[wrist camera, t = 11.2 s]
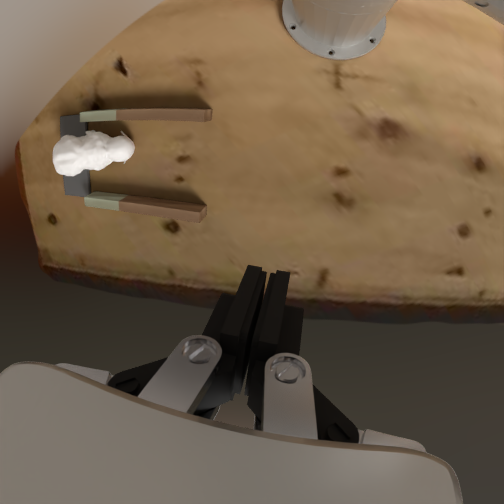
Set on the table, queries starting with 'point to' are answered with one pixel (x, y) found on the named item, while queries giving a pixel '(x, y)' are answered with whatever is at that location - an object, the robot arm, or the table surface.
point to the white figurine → (90, 152)
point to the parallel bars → (140, 203)
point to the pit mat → (81, 181)
